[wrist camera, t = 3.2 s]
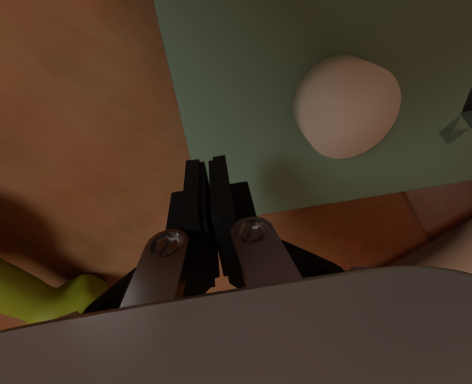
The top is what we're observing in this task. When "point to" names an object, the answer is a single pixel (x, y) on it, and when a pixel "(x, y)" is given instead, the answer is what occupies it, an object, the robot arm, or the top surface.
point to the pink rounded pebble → (346, 105)
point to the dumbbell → (44, 294)
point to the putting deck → (293, 70)
